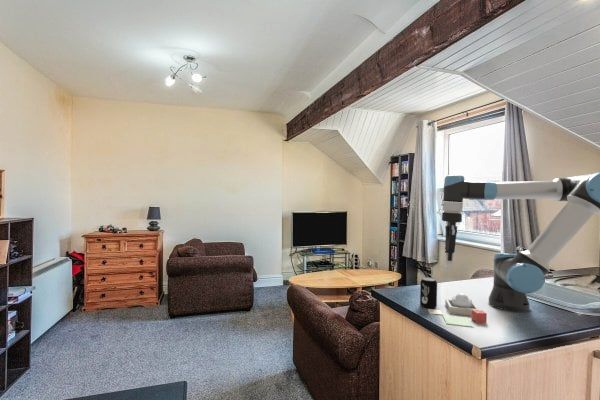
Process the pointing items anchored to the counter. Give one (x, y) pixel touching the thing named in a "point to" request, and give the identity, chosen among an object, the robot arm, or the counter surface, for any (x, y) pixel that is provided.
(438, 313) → the track space
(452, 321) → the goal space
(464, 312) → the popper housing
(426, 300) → the beverage can
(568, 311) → the counter surface
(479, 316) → the red die
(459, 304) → the dome
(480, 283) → the counter surface
